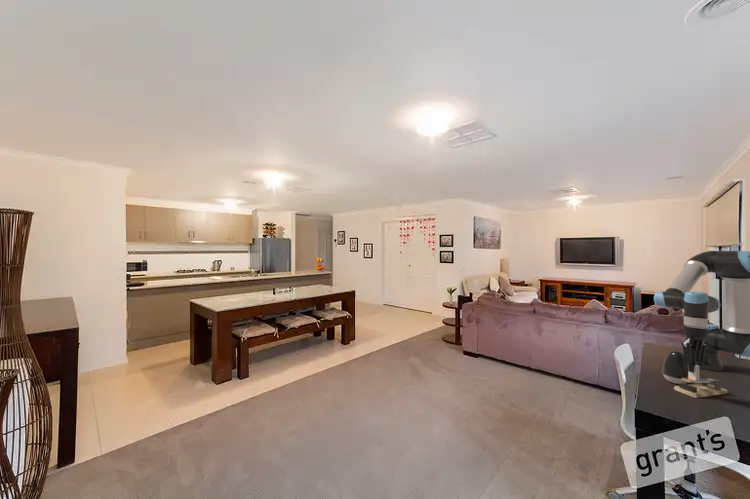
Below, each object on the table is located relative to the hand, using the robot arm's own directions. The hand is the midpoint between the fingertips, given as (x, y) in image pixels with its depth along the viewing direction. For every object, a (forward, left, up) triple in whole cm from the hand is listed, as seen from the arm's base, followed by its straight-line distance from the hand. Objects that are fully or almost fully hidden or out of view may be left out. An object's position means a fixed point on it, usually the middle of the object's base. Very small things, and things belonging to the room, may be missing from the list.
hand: (693, 379), depth 140 cm
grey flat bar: (-4, 0, -1) cm, 4 cm away
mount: (-5, 0, -6) cm, 8 cm away
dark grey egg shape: (-6, -10, -6) cm, 13 cm away
